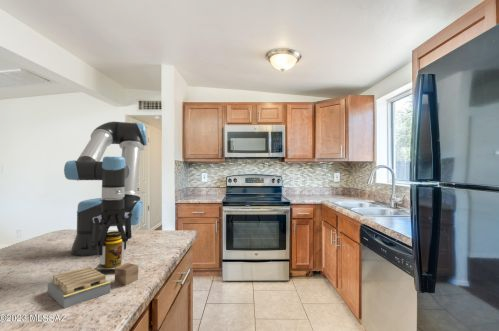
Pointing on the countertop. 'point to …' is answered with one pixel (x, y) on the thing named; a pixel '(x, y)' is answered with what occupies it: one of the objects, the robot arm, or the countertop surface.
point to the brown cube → (126, 274)
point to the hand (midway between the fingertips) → (111, 260)
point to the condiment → (112, 251)
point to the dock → (77, 293)
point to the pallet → (78, 279)
